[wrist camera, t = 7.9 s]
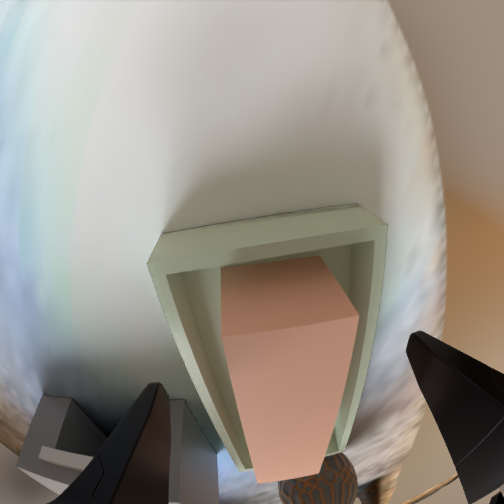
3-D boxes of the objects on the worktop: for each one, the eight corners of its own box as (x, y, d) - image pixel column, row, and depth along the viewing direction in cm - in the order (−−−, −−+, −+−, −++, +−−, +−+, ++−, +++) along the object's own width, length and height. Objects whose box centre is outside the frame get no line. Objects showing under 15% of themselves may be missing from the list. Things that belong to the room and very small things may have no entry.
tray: (335, 426, 19) (344, 451, 17) (237, 445, 19) (239, 471, 16) (357, 203, 11) (387, 224, 9) (161, 234, 11) (146, 263, 9)
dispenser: (216, 454, 19) (220, 525, 13) (97, 450, 19) (86, 509, 13) (181, 394, 15) (175, 500, 9) (39, 390, 15) (11, 462, 8)
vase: (350, 450, 22) (373, 519, 14) (288, 471, 23) (302, 539, 15) (337, 429, 19) (365, 517, 11) (261, 454, 20) (274, 540, 12)
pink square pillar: (306, 427, 17) (318, 473, 14) (251, 436, 17) (257, 483, 14) (319, 255, 11) (359, 315, 8) (220, 268, 11) (221, 336, 8)
